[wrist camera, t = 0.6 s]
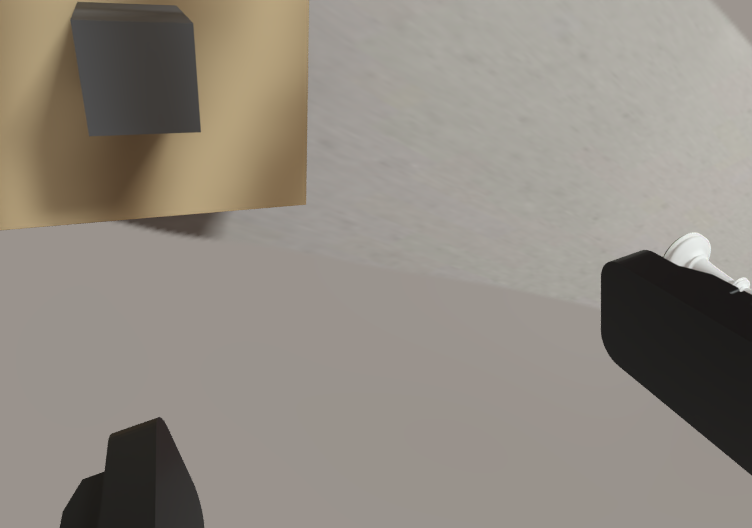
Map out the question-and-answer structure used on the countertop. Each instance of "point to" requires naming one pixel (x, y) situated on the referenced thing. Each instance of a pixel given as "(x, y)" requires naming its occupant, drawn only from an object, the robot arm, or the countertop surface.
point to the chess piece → (700, 258)
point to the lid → (150, 108)
